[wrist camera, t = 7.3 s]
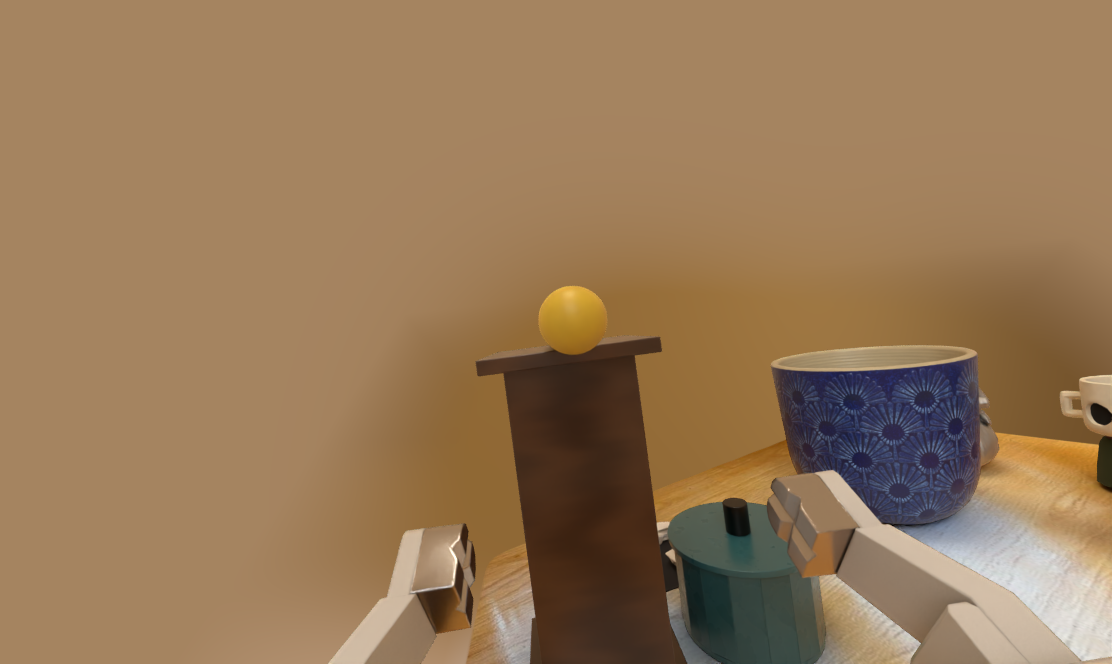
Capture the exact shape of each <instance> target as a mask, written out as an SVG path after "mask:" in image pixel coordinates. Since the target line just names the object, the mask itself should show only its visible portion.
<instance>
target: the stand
mask: <svg viewBox="0 0 1112 664" xmlns="http://www.w3.org/2000/svg"><path fill="white" fill-rule="evenodd" d="M661 351H662V348H661V340H660V337H656V336H655V337H654V336H617V337H610V338H602V339H601V341H600V342H599V343H598V344H597V345H596V346H595V347H594V348H593V349H591V350H589V351H587V352H585V353H582V354H577V355H568V354H563V353H560V352H558V351H556V350H555V349H553V348H552V347H550V346H542V347H534V348H527V349H519V350H512V351H504V352H497V353H495V354H492V355H490V356H487V357H485V358H482V359H480V360H478V361H476V368H477V375H478V376H485V375H492V374H499V373H503V374H504V381H505V388H506V396H507V404H508V411H509V419H510V427H511V434H512V442H513V449H514V457H515V464H516V472H517V480H518V487H519V495H520V502H521V510H522V518H523V525H524V533H525V540H526V548H527V556H528V563H529V571H530V578H531V586H532V593H533V601H534V609H535V616H536V618H532V632H531V654H530V664H687V662H686V660H685V657H684V655H683V653H682V650H681V648H680V646H679V643H678V641H677V639H676V636H675V634H674V632H673V629H672V627H671V625H670V620H669V613H668V605H667V598H666V590H665V583H664V575H663V567H662V560H661V552H660V545H659V537H658V529H657V522H656V514H655V507H654V499H653V492H652V484H651V476H650V469H649V462H648V454H647V446H646V438H645V431H644V423H643V416H642V408H641V401H640V393H639V385H638V378H637V370H636V363H635V355H640V354H648V353H656V352H661Z"/></svg>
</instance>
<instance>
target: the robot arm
mask: <svg viewBox="0 0 1112 664" xmlns="http://www.w3.org/2000/svg"><path fill="white" fill-rule="evenodd" d="M771 489H772V491H773V492H774V494H773V495H772V496H771V497H770V498H769V499H768V502H767V513H768V518H769V521H770V523H771V526H772V528H773V530H774V531H775V533H776V535H777V536H778V537H779V538H781V539H782V540H784V541H785V542H787V543H788V548H787V553H788V555H789V557H790V558H791V560H792V561H793V563H794V565H795V566H796V568H797V570H798V571H799V573H800V575H801V576H802V578H806V577H815V576H823V575H832V574H837V575H836V576H837V577H838V578H840V579H841V580H842V581H843V582H845V583H846V584H847V585H848V586H850V587H851V588H852V589H853V590H855V591H856V592H857V593H858V594H860V595H861V596H862V597H863V598H865V599H866V600H867V601H868V602H870V603H871V604H872V605H874V606H875V607H876V608H877V609H879V610H880V611H881V612H882V613H884V614H885V615H886V616H887V617H889V618H890V619H891V620H892V621H894V622H895V623H896V624H897V625H899V626H900V627H901V628H902V629H904V630H905V631H906V632H908V633H909V634H910V635H911V636H913V637H914V638H915V639H916V640H918V641H919V642H920V643H921V645H920V646H919V648H918V649H917V651H916V652H915V653H914V655H913V656H912V658H911V663H910V664H1112V657H1107V658H1101V659H1094V660H1088V661H1081V660H1080V659H1079V658H1078V657H1077V656H1076V655H1075V654H1074V653H1073V652H1072V651H1071V650H1070V649H1069V648H1068V647H1067V646H1066V645H1065V644H1064V643H1063V642H1062V641H1061V640H1060V639H1059V638H1058V637H1057V636H1056V635H1055V634H1054V633H1053V632H1052V631H1051V630H1050V629H1049V628H1048V627H1047V626H1046V625H1045V624H1044V623H1043V622H1042V621H1041V620H1040V619H1039V618H1038V617H1037V616H1036V615H1035V614H1034V613H1033V612H1032V611H1031V610H1030V609H1029V608H1028V607H1027V606H1026V605H1025V604H1024V603H1023V602H1022V601H1021V600H1020V599H1019V598H1018V597H1017V596H1016V595H1015V594H1014V593H1013V592H1011V591H1009V590H1007V589H1005V588H1004V587H1002V586H1000V585H998V584H996V583H994V582H993V581H991V580H989V579H987V578H985V577H984V576H982V575H980V574H978V573H976V572H975V571H973V570H971V569H969V568H967V567H966V566H964V565H962V564H960V563H958V562H956V561H955V560H953V559H951V558H949V557H947V556H946V555H944V554H942V553H940V552H938V551H937V550H935V549H933V548H931V547H929V546H928V545H926V544H924V543H922V542H920V541H918V540H917V539H915V538H913V537H911V536H909V535H908V534H906V533H904V532H902V531H900V530H899V529H897V528H895V527H893V526H891V525H890V524H882V523H881V522H880V521H879V520H878V519H877V518H876V516H875V515H874V514H873V513H872V512H871V511H870V509H869V508H868V507H867V506H866V505H865V504H864V503H863V501H862V500H861V499H860V498H859V497H858V496H857V495H856V493H855V492H854V491H853V490H852V489H851V488H850V486H849V485H848V484H847V483H846V482H845V481H844V480H843V478H842V477H841V476H840V475H839V474H838V473H837V472H835V471H833V470H828V471H822V472H816V473H805V474H799V475H792V476H786V477H780V478H775V479H774V480H773V481H772V484H771ZM475 570H476V567H475V552H474V547H473V544H472V542H471V541H469V540H468V529H467V526H466V524H457V525H448V526H441V527H432V528H423V529H416V530H409V531H406V532H405V534H404V535H403V537H402V540H401V544H400V548H399V552H398V555H397V560H396V563H395V568H394V571H393V575H392V579H391V583H390V587H389V591H388V595H387V598H382V599H380V600H379V601H378V603H377V604H376V605H375V606H374V608H373V609H372V610H371V611H370V612H369V614H368V615H367V616H366V617H365V619H364V620H363V621H362V622H361V624H360V625H359V626H358V627H357V628H356V630H355V631H354V632H353V633H352V635H351V636H350V637H349V638H348V639H347V641H346V642H345V643H344V644H343V646H342V647H341V648H340V649H339V651H338V652H337V653H336V654H335V656H334V657H333V658H332V659H331V660H330V662H329V663H328V664H421V663H422V661H423V659H424V658H425V656H426V654H427V652H428V651H429V649H430V647H431V645H432V644H433V642H434V640H435V638H436V634H438V633H444V632H449V631H455V630H460V629H466V628H471V620H472V608H473V597H472V594H471V591H470V587H471V585H472V584H473V582H474V581H475Z"/></svg>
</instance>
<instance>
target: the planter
mask: <svg viewBox="0 0 1112 664" xmlns="http://www.w3.org/2000/svg"><path fill="white" fill-rule="evenodd" d="M771 368H772V374H773V378H774V383H775V388H776V392H777V397H778V402H779V406H780V411H781V416H782V421H783V426H784V430H785V435H786V440H787V444H788V449H789V453H790V457H791V460H792V462H793V465H794V467H795V469H796V472H797V474H798V475H799V474H805V473H816V472H822V471H828V470H833V471H835V472H837V473H838V474H839V475H840V476H841V477H842V478H843V480H844V481H845V482H846V483H847V484H848V485H849V486H850V488H851V489H852V490H853V491H854V492H855V493H856V495H857V496H858V497H859V498H860V499H861V500H862V501H863V503H864V504H865V505H866V506H867V507H868V508H869V509H870V511H871V512H872V513H873V514H874V515H875V516H876V518H877V519H878V520H879V521H880V522H881V523H888V524H906V525H911V524H924V523H930V522H935V521H938V520H941V519H944V518H947V517H949V516H952V515H953V514H955V513H956V512H957V511H959V510H960V509H962V508H963V507H964V506H965V505H966V504H967V503H968V502H969V501H970V499H971V497H972V496H973V494H974V492H975V489H976V487H977V484H978V481H979V476H980V470H981V446H980V417H979V387H978V358H977V353H976V352H975V351H973V350H971V349H967V348H962V347H951V346H924V345H923V346H922V345H920V346H881V347H863V348H850V349H838V350H828V351H820V352H812V353H805V354H799V355H793V356H788V357H784V358H781V359H778V360H775V361H773V362H772V363H771Z"/></svg>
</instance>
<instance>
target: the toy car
mask: <svg viewBox="0 0 1112 664" xmlns="http://www.w3.org/2000/svg"><path fill="white" fill-rule="evenodd" d="M669 524H670V522H658V523H657V529H658V537H659V545H662V544H663V542H664V541H668V534H667V531H668V526H669ZM664 554H665V555H666V556H667V557H668V558H669V559H670V562H671V563H672V564H673V565H674V566H676V560H675V552H674V550H673V548H672V549H670V550H668V551H666V552H665V553H664Z"/></svg>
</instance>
